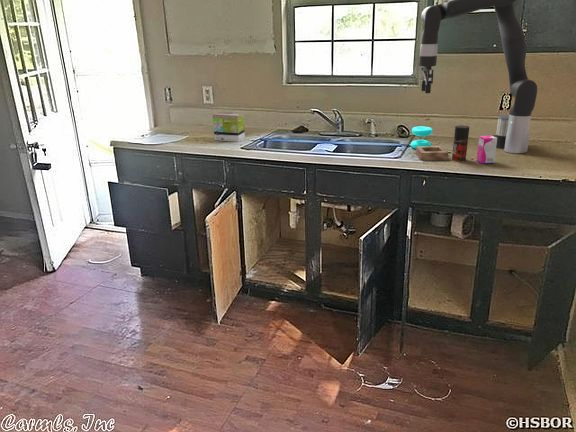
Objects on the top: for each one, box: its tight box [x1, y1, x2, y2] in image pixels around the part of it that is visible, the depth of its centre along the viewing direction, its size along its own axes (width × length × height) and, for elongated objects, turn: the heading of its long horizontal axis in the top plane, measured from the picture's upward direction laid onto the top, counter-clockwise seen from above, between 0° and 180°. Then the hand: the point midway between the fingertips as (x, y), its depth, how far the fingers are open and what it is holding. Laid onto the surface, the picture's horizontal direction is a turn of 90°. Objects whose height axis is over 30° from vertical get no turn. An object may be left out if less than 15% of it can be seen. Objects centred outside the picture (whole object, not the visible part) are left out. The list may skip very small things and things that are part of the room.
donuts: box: [410, 126, 433, 150], centre depth 236 cm, size 10×10×10 cm
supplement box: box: [476, 135, 497, 165], centre depth 207 cm, size 6×6×12 cm
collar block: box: [415, 145, 449, 161], centre depth 220 cm, size 12×12×4 cm
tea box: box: [212, 111, 246, 143], centre depth 265 cm, size 15×10×15 cm
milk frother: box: [491, 115, 509, 150], centre depth 235 cm, size 14×16×15 cm
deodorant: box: [451, 125, 470, 162], centre depth 212 cm, size 6×6×15 cm
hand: (425, 92), depth 217 cm, fingers open, 8 cm apart
